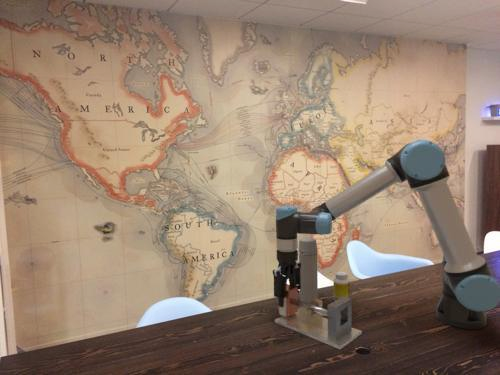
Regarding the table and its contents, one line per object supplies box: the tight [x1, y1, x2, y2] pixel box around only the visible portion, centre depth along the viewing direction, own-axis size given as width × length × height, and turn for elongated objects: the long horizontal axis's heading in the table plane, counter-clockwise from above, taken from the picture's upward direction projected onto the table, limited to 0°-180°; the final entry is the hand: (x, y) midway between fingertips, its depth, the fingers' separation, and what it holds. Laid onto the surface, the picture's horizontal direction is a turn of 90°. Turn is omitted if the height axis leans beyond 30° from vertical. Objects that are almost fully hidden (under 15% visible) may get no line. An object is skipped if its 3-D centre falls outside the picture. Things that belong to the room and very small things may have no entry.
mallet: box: [277, 283, 341, 319], centre depth 120 cm, size 24×5×9 cm, turn 45°
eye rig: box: [274, 296, 363, 350], centre depth 118 cm, size 26×13×12 cm, turn 45°
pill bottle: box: [333, 271, 350, 301], centre depth 141 cm, size 6×6×11 cm
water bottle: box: [297, 237, 319, 304], centre depth 140 cm, size 9×8×25 cm
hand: (288, 312), depth 127 cm, fingers closed on mallet, 5 cm apart
